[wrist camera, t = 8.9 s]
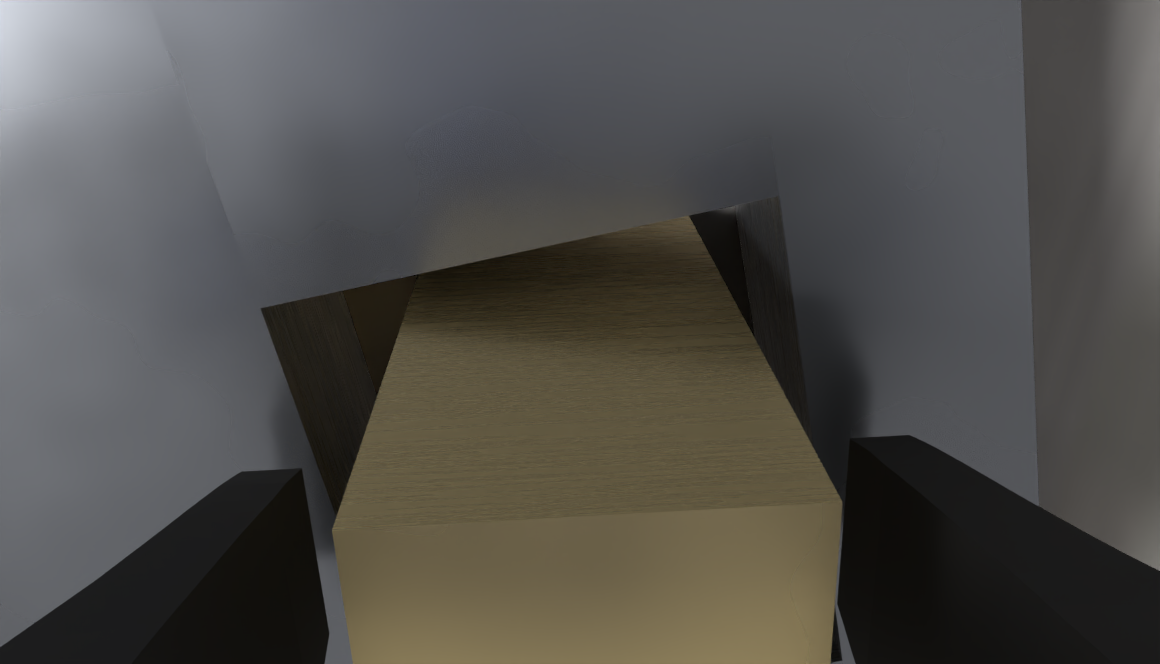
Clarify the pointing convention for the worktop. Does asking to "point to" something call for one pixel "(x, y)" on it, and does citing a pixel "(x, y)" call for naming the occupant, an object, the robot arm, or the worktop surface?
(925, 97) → the peg hole base
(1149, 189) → the worktop surface
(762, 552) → the tan wooden block
